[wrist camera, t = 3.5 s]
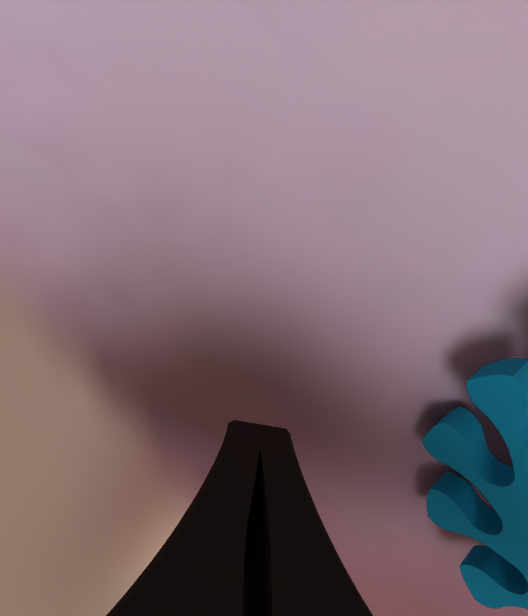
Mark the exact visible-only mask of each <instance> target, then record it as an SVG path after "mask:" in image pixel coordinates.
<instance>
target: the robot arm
mask: <svg viewBox="0 0 528 616" xmlns="http://www.w3.org/2000/svg"><path fill="white" fill-rule="evenodd" d="M106 616H373V615H372V613H371V612H370V610H369V609H368V607H367V605H366V604H365V602H364V600H363V599H362V597H361V595H360V594H359V592H358V590H357V589H356V587H355V585H354V583H353V582H352V580H351V578H350V576H349V575H348V573H347V571H346V569H345V567H344V565H343V564H342V562H341V560H340V558H339V556H338V554H337V552H336V550H335V548H334V546H333V544H332V542H331V540H330V538H329V536H328V534H327V532H326V530H325V527H324V525H323V523H322V521H321V519H320V516H319V514H318V512H317V509H316V507H315V505H314V502H313V500H312V497H311V495H310V493H309V490H308V488H307V485H306V483H305V480H304V477H303V475H302V472H301V469H300V466H299V463H298V460H297V457H296V454H295V451H294V448H293V444H292V440H291V436H290V433H289V432H288V430H287V429H284V428H278V427H272V426H266V425H260V424H254V423H248V422H242V421H236V420H233V421H232V422H230V423H228V428H227V432H226V435H225V438H224V441H223V444H222V446H221V449H220V451H219V453H218V455H217V458H216V460H215V462H214V464H213V466H212V468H211V470H210V472H209V473H208V475H207V477H206V479H205V481H204V483H203V485H202V486H201V488H200V490H199V492H198V493H197V495H196V497H195V498H194V500H193V501H192V503H191V505H190V506H189V508H188V509H187V511H186V513H185V514H184V516H183V517H182V519H181V520H180V522H179V524H178V525H177V526H176V528H175V529H174V531H173V532H172V534H171V535H170V537H169V538H168V539H167V541H166V542H165V544H164V545H163V546H162V548H161V549H160V551H159V552H158V553H157V554H156V556H155V557H154V558H153V560H152V561H151V562H150V564H149V565H148V566H147V567H146V569H145V570H144V571H143V572H142V574H141V575H140V576H139V577H138V579H137V580H136V581H135V582H134V584H133V585H132V586H131V587H130V589H129V590H128V591H127V592H126V594H125V595H124V596H123V597H122V598H121V599H120V601H119V602H118V603H117V604H116V605H115V606H114V608H113V609H112V610H111V611H110V612H109V613H108V614H107V615H106Z"/></svg>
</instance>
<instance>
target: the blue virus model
mask: <svg viewBox="0 0 528 616" xmlns="http://www.w3.org/2000/svg"><path fill="white" fill-rule="evenodd" d="M467 390H468V394H469V396H470V398H471V400H472V401H473V402H474V404H475V405H476V406H477V407H478V408H479V409H480V410H481V411H482V412H483V413H484V414H485V415H486V416H487V417H488V418H489V419H490V420H491V421H492V422H493V424H494V425H495V426H496V428H497V429H498V431H499V432H500V434H501V435H502V437H503V439H504V441H505V443H506V445H507V447H508V449H509V452H510V456H511V459H512V463H513V467H511V466H508V465H505V464H503V463H502V462H500V461H499V460H497V459H496V458H495V457H494V456H493V455H492V454H491V452H490V451H489V449H488V446H487V443H486V439H485V434H484V430H483V428H482V425H481V424H480V422H479V420H478V419H477V418H476V417H475V416H474V415H473V414H472V413H471V412H470V411H468V410H467V409H465V408H463V407H461V406H459V407H457V408H454V409H452V410H451V411H450V412H448V413H447V414H446V415H445V416H444V417H443V418H442V419H441V420H440V421H439V422H438V423H437V424H436V425H435V426H434V427H433V428H432V429H431V430H430V431H429V432H428V433H427V434H426V436H425V437H424V439H423V441H422V442H423V444H424V446H425V448H426V449H427V451H428V452H429V453H430V454H431V455H432V456H433V457H434V458H436V459H437V460H438V461H440V462H442V463H444V464H446V465H447V466H449V467H451V468H453V469H454V470H456V471H457V472H459V473H460V474H461V475H463V476H464V477H465V478H466V479H468V480H469V481H470V482H471V483H472V484H473V485H474V486H475V487H476V488H477V489H478V490H479V491H480V492H481V493H482V494H483V496H484V497H485V498H486V499H487V500H488V502H489V503H490V504H491V506H492V507H493V508H494V510H495V511H496V512H495V511H494V510H492V509H490V508H489V507H488V506H487V505H486V504H485V503H484V502H483V501H482V500H481V498H480V497H479V496H478V494H477V493H476V492H475V490H474V489H473V488H472V487H471V485H470V484H469V483H468V482H467V481H465V480H464V479H463V478H461V477H460V476H458V475H456V474H453V473H450V472H445V473H444V474H443V475H442V476H441V478H440V479H439V480H438V481H437V482H436V483H435V484H434V485H433V486H432V487H431V489H430V490H429V492H428V495H427V512H428V517H429V518H430V519H431V520H432V521H433V522H434V523H435V524H437V525H438V526H440V527H441V528H443V529H445V530H448V531H452V532H457V533H460V534H463V535H466V536H469V537H471V538H473V539H475V540H478V541H479V542H481V543H483V544H485V545H486V546H483V545H476V546H474V547H473V548H472V550H471V551H470V552H469V554H468V555H467V556H466V558H465V559H464V560H463V562H462V563H461V565H460V570H461V573H462V576H463V579H464V581H465V583H466V585H467V587H468V588H469V590H470V592H471V593H472V595H473V597H474V599H475V600H476V601H478V602H479V603H481V604H482V605H485V606H487V607H490V608H497V609H498V608H501V607H504V606H515V607H522V608H525V609H528V359H521V358H513V359H504V360H499V361H495V362H492V363H489V364H486V365H483V366H482V367H481V368H480V369H479V370H478V371H477V372H476V373H475V374H474V375H473V376H472V377H471V378H469V379H468V380H467ZM487 546H488V547H487ZM489 547H490V548H489Z"/></svg>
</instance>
